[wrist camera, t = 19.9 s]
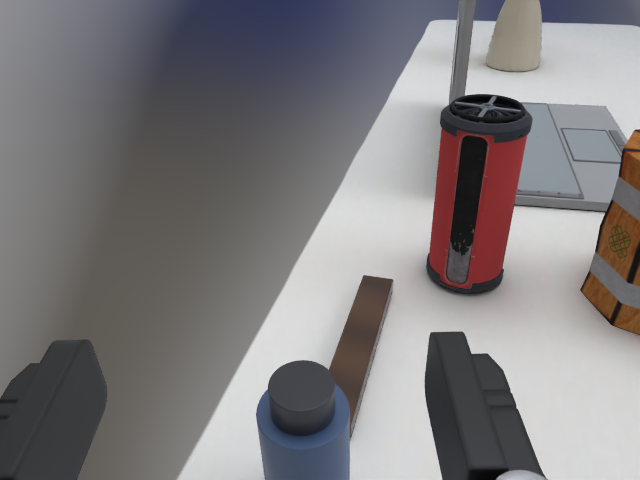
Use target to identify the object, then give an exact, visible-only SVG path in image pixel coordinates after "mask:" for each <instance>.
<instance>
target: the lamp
mask: <svg viewBox="0 0 640 480" xmlns="http://www.w3.org/2000/svg"><path fill="white" fill-rule="evenodd" d="M541 34H542V17H541V8H540V3H539V0H506V1H505V3H504V5H503V7H502V9H501V11H500V14H499V16H498V19H497V22H496V25H495V28H494V32H493V35H492V39H491V42H490V45H489V50H488V54H487V58H486V64H487V65H488V66H490V67H492V68H494V69H498V70H503V71H529V70H534V69H536V68H537V67H538V66H539V64H540V55H541V40H542V37H541Z"/></svg>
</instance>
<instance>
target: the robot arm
mask: <svg viewBox="0 0 640 480" xmlns="http://www.w3.org/2000/svg"><path fill="white" fill-rule="evenodd" d="M425 396H426V403H427V408H428V413H429V418H430V422H431V427H432V432H433V436H434V441H435V446H436V451H437V455H438V460H439V465H440V469H441V474H442V479H443V480H548V479H546V477H545V476H544V474H543V472H542V470H541V468H540V466H539V463H538V460H537V458H536V455H535V453H534V450H533V447H532V445H531V442H530V439H529V437H528V434H527V432H526V429H525V426H524V424H523V421H522V419H521V416H520V413H519V411H518V409H517V408H516V403H515V400H514V398H513V395H512V393H511V392H510V387H509V385H508V382H507V379H506V377H505V374H504V372H503V370H502V369H501V368H500V366H499V365H498V364H497V363H496V362H495V361H494V360H493V359H492V358H491V357H490V356H489V355H488V354H471V351H470V348H469V345H468V342H467V339H466V336H465V334H464V333H463V332H431V333H430V337H429V345H428V354H427V363H426V372H425ZM106 401H107V386H106V382H105V379H104V377H103V374H102V371H101V368H100V365H99V362H98V359H97V356H96V353H95V351H94V348H93V345H92V343H91V342H90V341H89V340H57V341H54V342H52V343H51V345H50V346H49V348H48V350H47V351H46V353H45V355H44V357H43V358H42V360H41V362H40V363H31V364H29V365H28V366H27V367H26V368H25V369H24V370H23V371H22V372H20V373H19V374H18V375H17V376H16V377H15V378H14V379H13V380H11V382H10V383H9V385H8V387H7V389H6V390H5V392H4V393H3V395H2V396H1V398H0V480H77V478H78V475H79V473H80V470H81V468H82V465H83V463H84V460H85V458H86V455H87V453H88V450H89V448H90V445H91V443H92V440H93V437H94V435H95V433H96V430H97V428H98V425H99V422H100V420H101V418H102V415H103V413H104V410H105V407H106Z"/></svg>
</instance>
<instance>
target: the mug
mask: <svg viewBox="0 0 640 480" xmlns="http://www.w3.org/2000/svg"><path fill="white" fill-rule="evenodd" d="M581 291H582V293H583V294H584V295H585V296H586V297H587V298H588V299H589V300H590V301H591V303H592V304H593V305H594V306H595V307H596V308H597V309H598V310H599V311H600V313H601V314H602V315H603V316H604V317H605V318H606V319H607V320H608V321H609V323H610V324H611V325H613V326H616V327H619V328H622V329H625V330H628V331H630V332H633V333H636V334H639V335H640V129H639V130H634V132H633V134H632V135H631V137H630V138H629V140H628V142H627V143H626V145H625V146H624V148H623V150H622V156H621V162H620V169H619V175H618V179H617V182H616V186H615V189H614V192H613V196H612V199H611V201H610V204H609V206H608V208H607V211H606V213H605V216H604V218H603V220H602V223H601V225H600V230H599V235H598V240H597V245H596V250H595V254H594V257H593V261H592V264H591V267H590V271H589V273H588V275H587V277H586V279H585V281H584V283H583V285H582V288H581Z"/></svg>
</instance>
